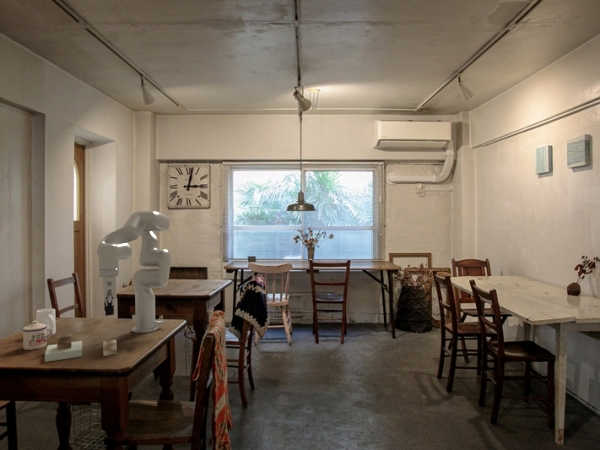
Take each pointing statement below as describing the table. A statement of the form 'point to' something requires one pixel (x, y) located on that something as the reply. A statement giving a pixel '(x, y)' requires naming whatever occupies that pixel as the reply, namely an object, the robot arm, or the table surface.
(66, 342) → the walnut block
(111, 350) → the ash block
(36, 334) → the teacup with lid
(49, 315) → the mug
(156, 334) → the table surface
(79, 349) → the base board
